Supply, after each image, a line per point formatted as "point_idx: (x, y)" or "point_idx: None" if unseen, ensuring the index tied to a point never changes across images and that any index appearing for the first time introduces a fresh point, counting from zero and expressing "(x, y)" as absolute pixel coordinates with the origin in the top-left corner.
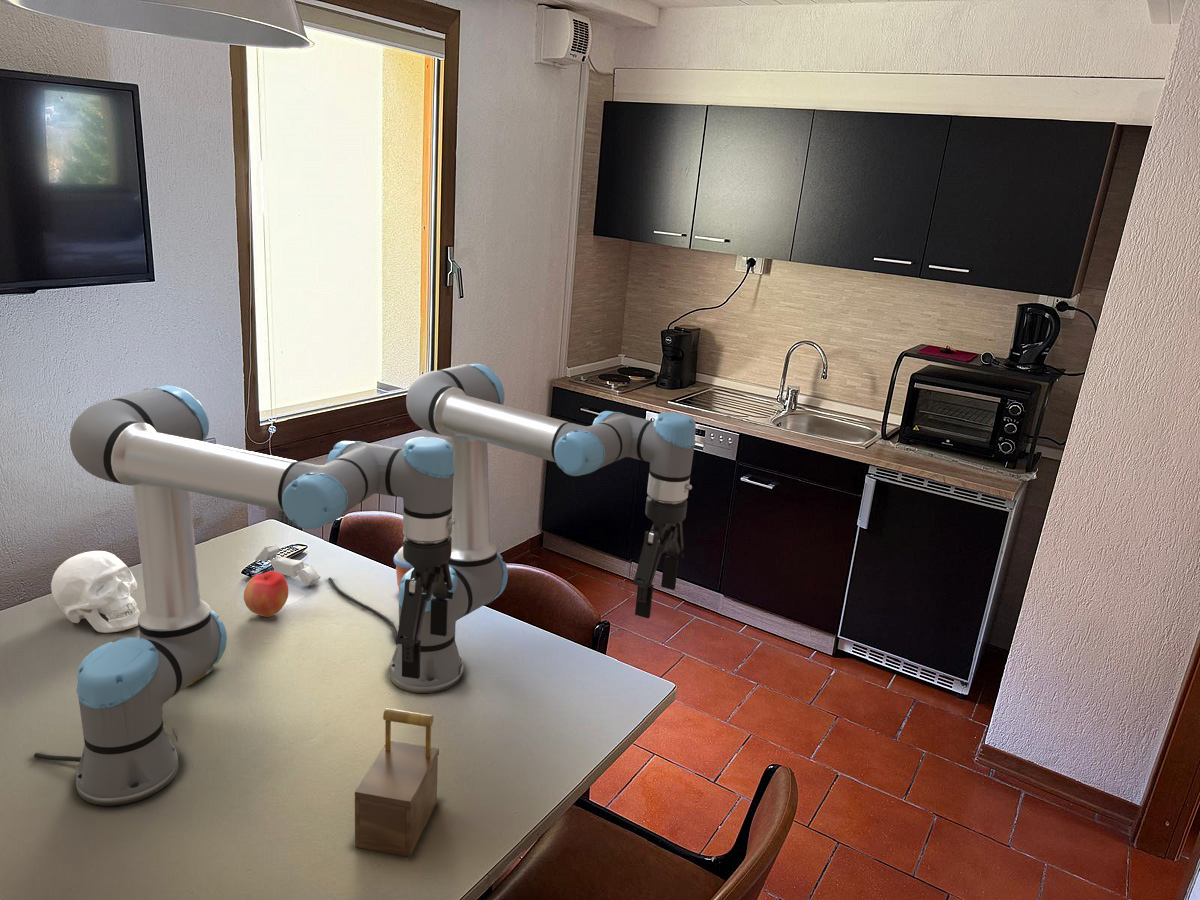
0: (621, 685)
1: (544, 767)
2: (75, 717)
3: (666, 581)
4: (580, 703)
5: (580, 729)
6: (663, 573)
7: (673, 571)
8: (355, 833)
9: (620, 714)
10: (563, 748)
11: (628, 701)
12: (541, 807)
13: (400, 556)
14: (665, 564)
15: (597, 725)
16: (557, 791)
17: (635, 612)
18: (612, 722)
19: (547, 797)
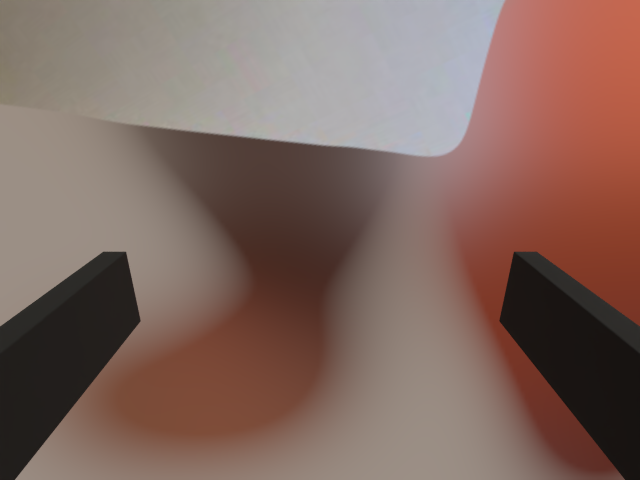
0: (433, 61)
1: (91, 43)
2: None
3: (530, 299)
4: (321, 4)
5: (237, 51)
6: (566, 304)
7: (572, 391)
8: None
9: (329, 106)
10: (163, 49)
11: (381, 102)
12: (4, 95)
13: None
14: (626, 361)
15: (269, 79)
16: (56, 101)
17: (95, 259)
18: (295, 103)
19: (31, 92)
